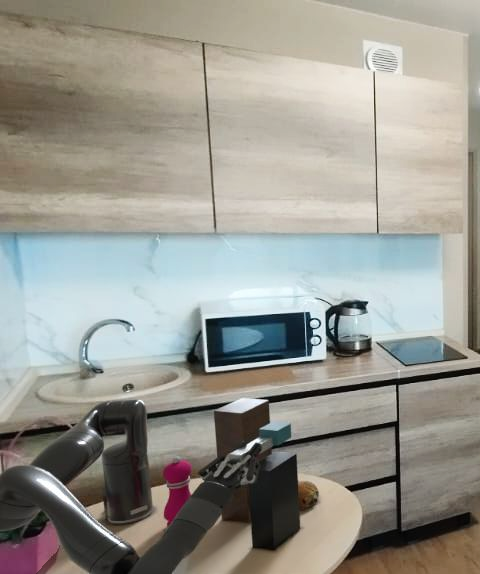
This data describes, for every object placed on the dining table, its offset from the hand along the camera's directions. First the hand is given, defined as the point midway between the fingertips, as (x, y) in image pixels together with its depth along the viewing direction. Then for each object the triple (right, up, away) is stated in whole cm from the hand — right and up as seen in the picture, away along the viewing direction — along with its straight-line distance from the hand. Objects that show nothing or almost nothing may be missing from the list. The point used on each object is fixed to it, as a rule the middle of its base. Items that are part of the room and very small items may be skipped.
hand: (252, 444), depth 141 cm
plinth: (-16, -25, +22) cm, 37 cm away
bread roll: (-5, -25, +28) cm, 38 cm away
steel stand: (-1, -28, +11) cm, 30 cm away
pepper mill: (-29, -26, +14) cm, 42 cm away
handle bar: (0, -2, +3) cm, 4 cm away
